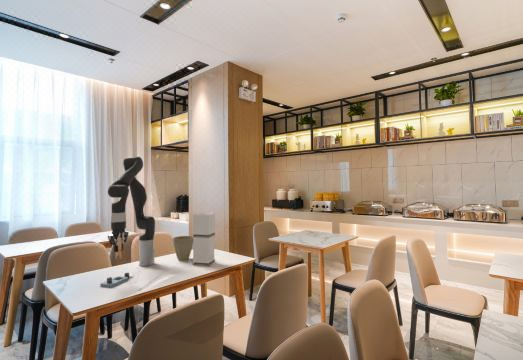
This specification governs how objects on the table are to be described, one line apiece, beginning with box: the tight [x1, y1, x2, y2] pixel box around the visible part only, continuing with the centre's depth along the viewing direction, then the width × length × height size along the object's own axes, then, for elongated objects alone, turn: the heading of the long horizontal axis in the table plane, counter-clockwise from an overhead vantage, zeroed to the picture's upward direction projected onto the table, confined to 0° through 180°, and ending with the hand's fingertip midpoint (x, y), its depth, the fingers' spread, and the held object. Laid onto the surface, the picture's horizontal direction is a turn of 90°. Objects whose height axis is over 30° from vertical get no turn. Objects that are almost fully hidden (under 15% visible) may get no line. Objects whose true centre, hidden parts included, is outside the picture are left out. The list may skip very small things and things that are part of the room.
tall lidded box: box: [192, 212, 216, 267], centre depth 201 cm, size 11×11×35 cm
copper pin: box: [115, 237, 123, 260], centre depth 162 cm, size 3×3×12 cm
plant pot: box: [172, 235, 193, 262], centre depth 212 cm, size 15×15×16 cm
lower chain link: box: [121, 272, 134, 284], centre depth 164 cm, size 12×7×4 cm, turn 164°
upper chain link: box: [100, 275, 128, 288], centre depth 159 cm, size 12×7×6 cm, turn 164°
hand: (118, 251), depth 162 cm, fingers closed on copper pin, 3 cm apart
